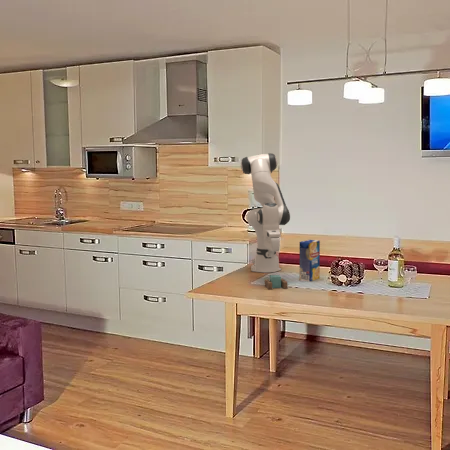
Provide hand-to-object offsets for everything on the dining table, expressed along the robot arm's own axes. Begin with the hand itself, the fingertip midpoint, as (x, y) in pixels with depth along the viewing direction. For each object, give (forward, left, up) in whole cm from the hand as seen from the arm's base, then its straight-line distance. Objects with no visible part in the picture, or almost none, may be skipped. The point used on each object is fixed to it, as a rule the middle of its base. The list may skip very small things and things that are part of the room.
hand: (271, 257), depth 316 cm
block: (+8, 0, -15) cm, 17 cm away
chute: (+9, 0, -15) cm, 17 cm away
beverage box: (-7, +24, -15) cm, 29 cm away
